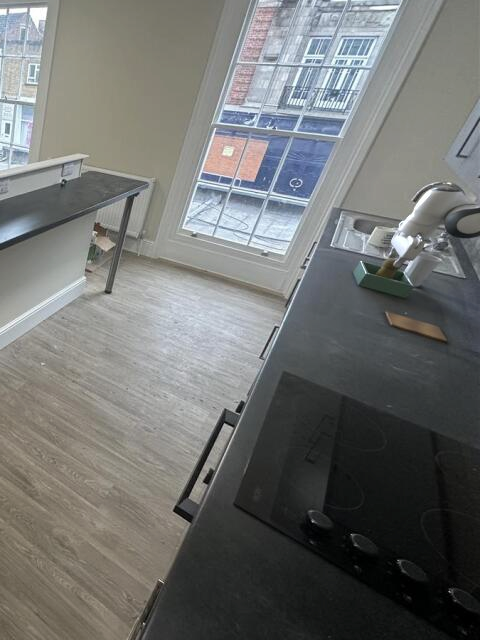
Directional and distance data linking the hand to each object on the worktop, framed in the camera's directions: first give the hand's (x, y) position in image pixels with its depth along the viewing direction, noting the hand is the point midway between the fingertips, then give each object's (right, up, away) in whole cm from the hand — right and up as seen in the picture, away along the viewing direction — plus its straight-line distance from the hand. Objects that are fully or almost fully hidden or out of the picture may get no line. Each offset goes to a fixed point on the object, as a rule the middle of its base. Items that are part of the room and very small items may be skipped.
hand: (393, 262), depth 158 cm
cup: (+17, -8, +9) cm, 21 cm away
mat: (-15, -24, -21) cm, 35 cm away
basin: (-1, -9, +5) cm, 10 cm away
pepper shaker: (-1, -9, +5) cm, 11 cm away
